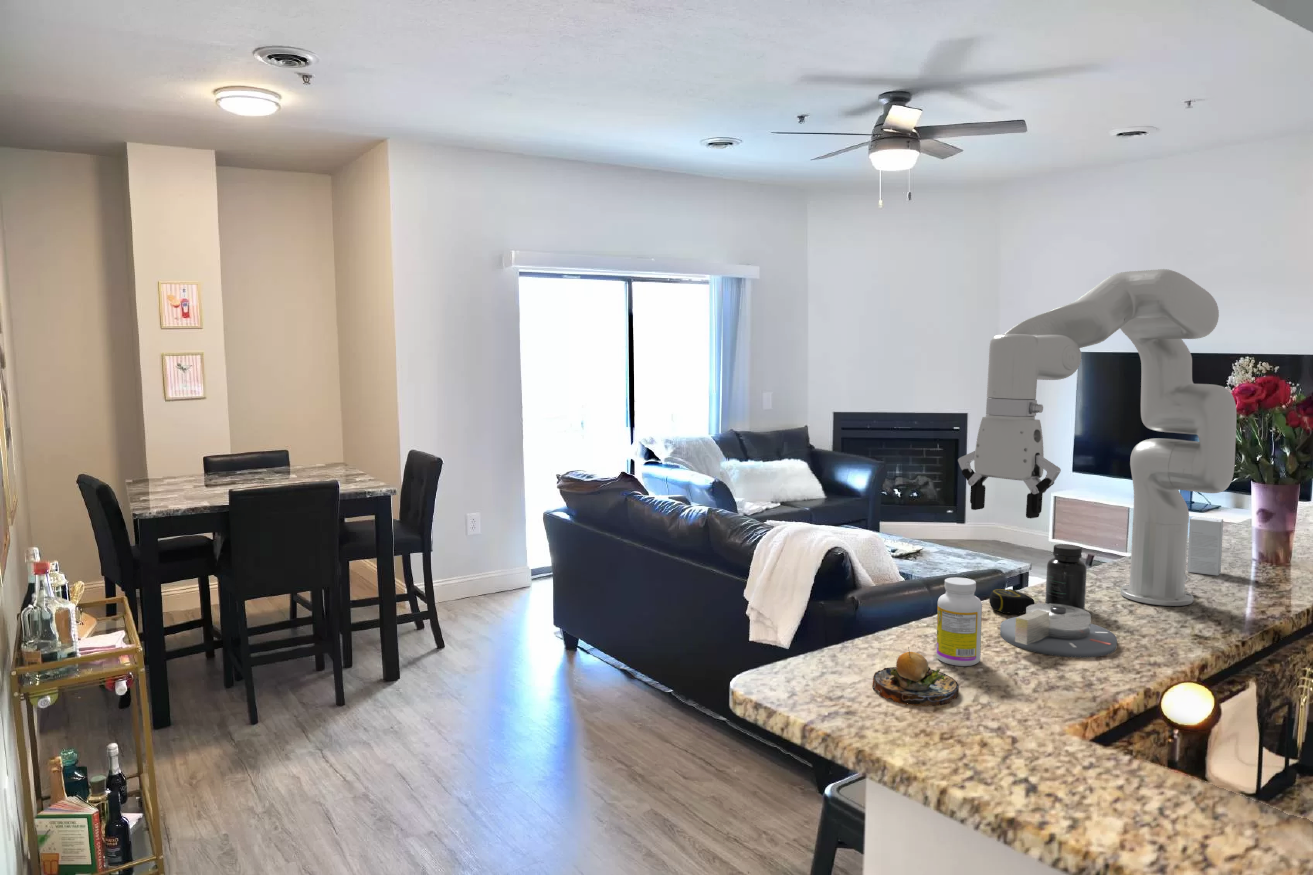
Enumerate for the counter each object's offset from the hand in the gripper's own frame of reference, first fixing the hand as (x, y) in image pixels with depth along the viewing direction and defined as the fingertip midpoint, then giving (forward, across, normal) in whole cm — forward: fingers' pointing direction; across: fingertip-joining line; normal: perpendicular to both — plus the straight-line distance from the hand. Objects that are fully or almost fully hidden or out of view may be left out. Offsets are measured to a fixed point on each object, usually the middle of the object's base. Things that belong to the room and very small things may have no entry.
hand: (1004, 513), depth 148 cm
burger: (+24, -3, +28) cm, 37 cm away
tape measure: (+22, +8, -20) cm, 31 cm away
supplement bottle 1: (+23, 0, +12) cm, 26 cm away
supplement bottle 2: (+21, +2, -29) cm, 36 cm away
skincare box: (+20, -4, -80) cm, 82 cm away
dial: (+20, -5, -6) cm, 22 cm away
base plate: (+22, -6, -10) cm, 24 cm away
